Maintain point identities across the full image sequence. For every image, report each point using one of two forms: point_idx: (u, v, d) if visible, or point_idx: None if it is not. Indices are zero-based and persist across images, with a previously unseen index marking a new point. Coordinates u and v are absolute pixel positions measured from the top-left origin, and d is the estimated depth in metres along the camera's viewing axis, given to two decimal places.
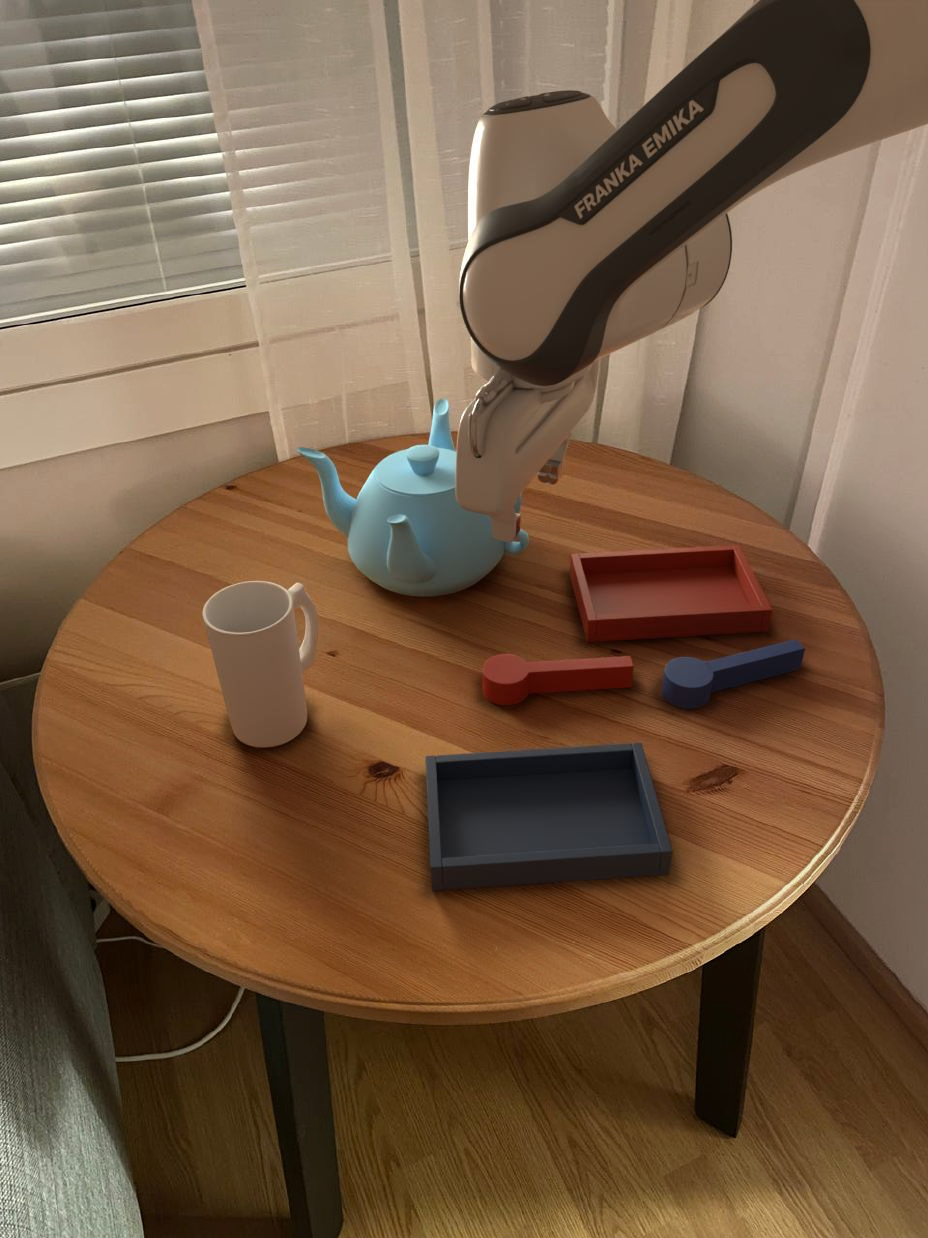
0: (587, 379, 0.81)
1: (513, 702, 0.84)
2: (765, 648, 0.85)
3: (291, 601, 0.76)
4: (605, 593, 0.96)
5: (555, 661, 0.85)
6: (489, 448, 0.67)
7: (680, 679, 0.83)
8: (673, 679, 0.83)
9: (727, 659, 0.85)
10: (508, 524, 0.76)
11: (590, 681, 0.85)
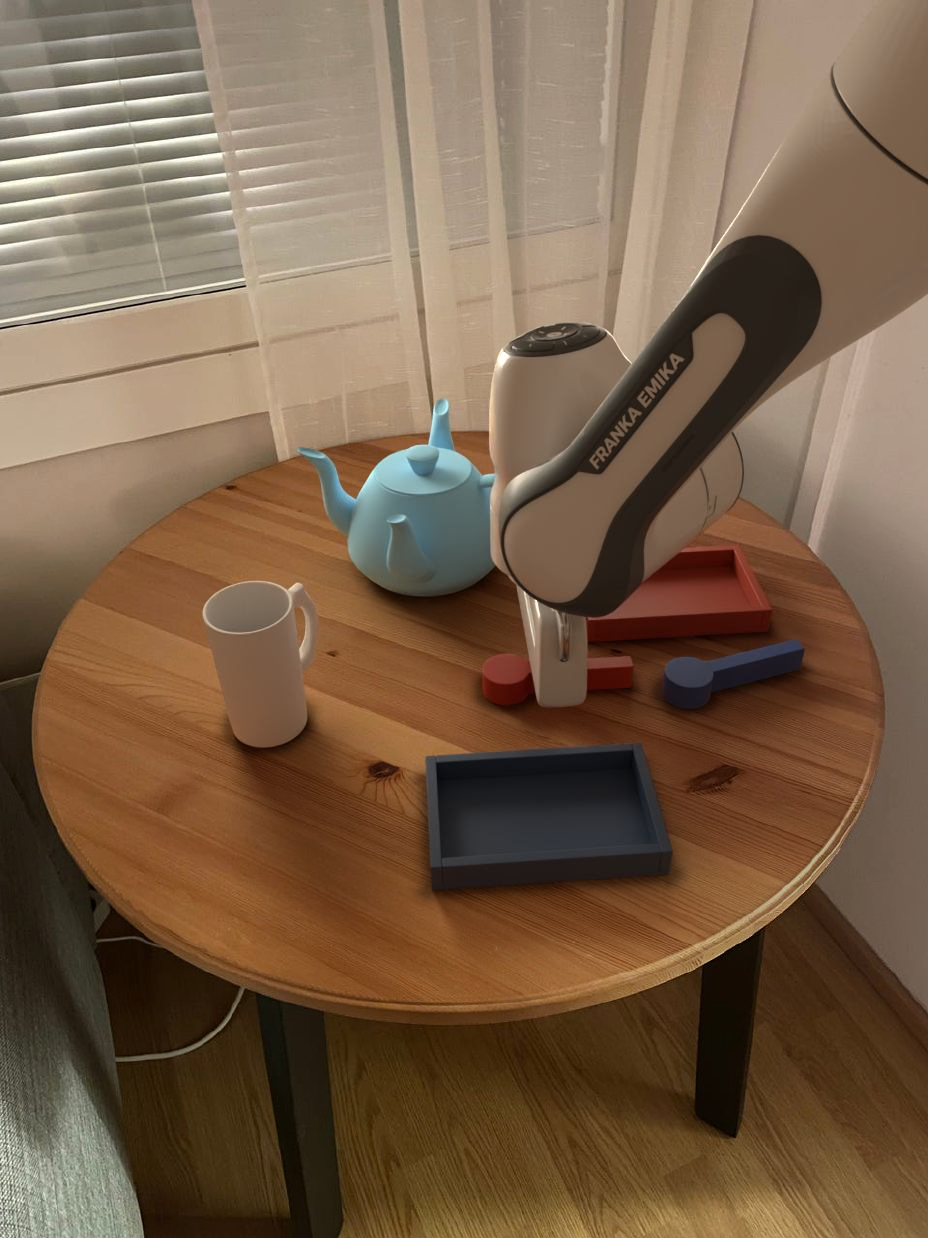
0: None
1: (513, 702, 0.84)
2: (765, 648, 0.85)
3: (291, 601, 0.76)
4: None
5: None
6: (575, 651, 0.71)
7: (680, 679, 0.83)
8: (673, 679, 0.83)
9: (727, 659, 0.85)
10: None
11: (590, 681, 0.85)
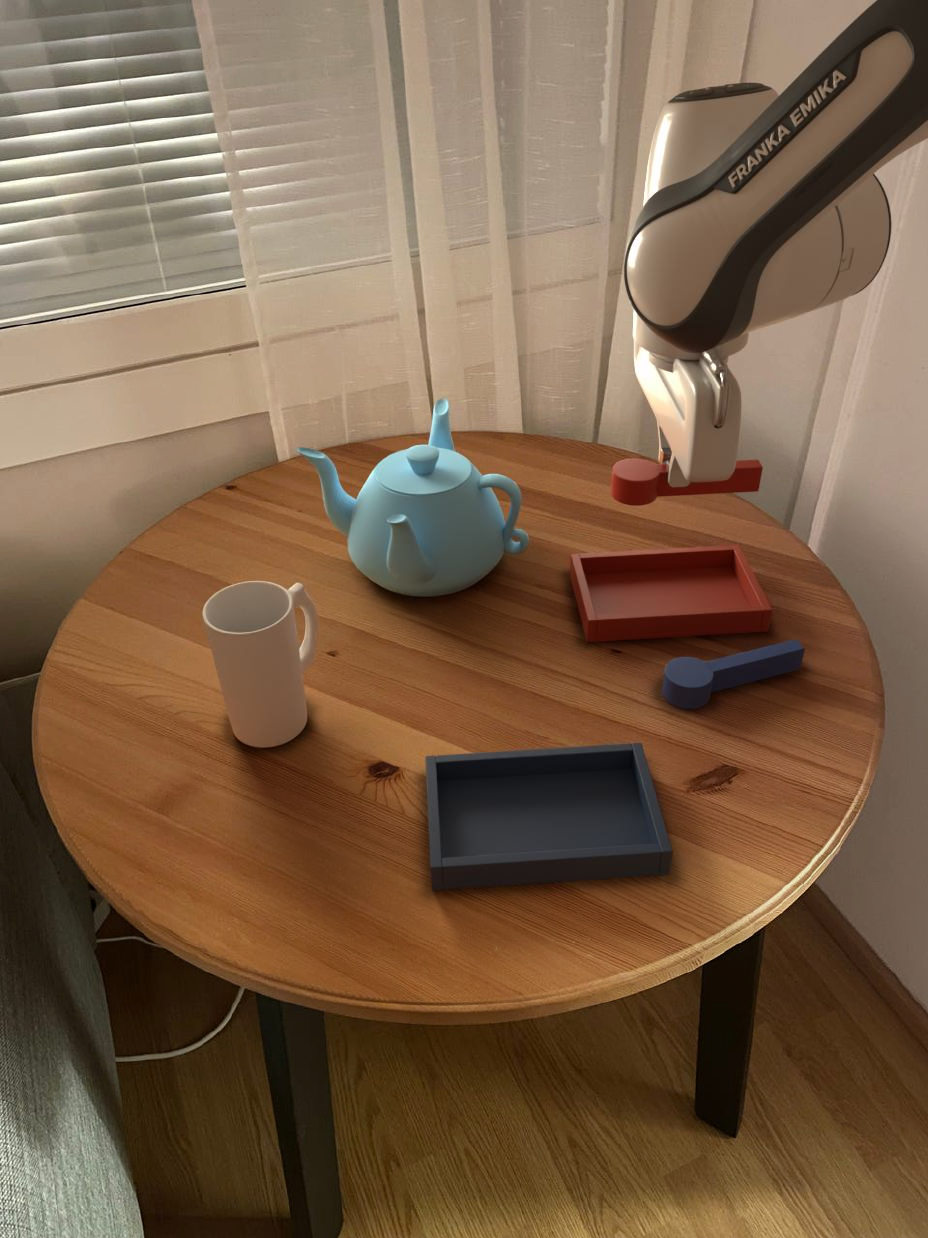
0: None
1: (644, 502, 0.85)
2: (765, 648, 0.85)
3: (291, 601, 0.76)
4: (605, 593, 0.96)
5: None
6: (730, 416, 0.72)
7: (680, 679, 0.83)
8: (673, 679, 0.83)
9: (727, 659, 0.85)
10: None
11: (719, 483, 0.86)
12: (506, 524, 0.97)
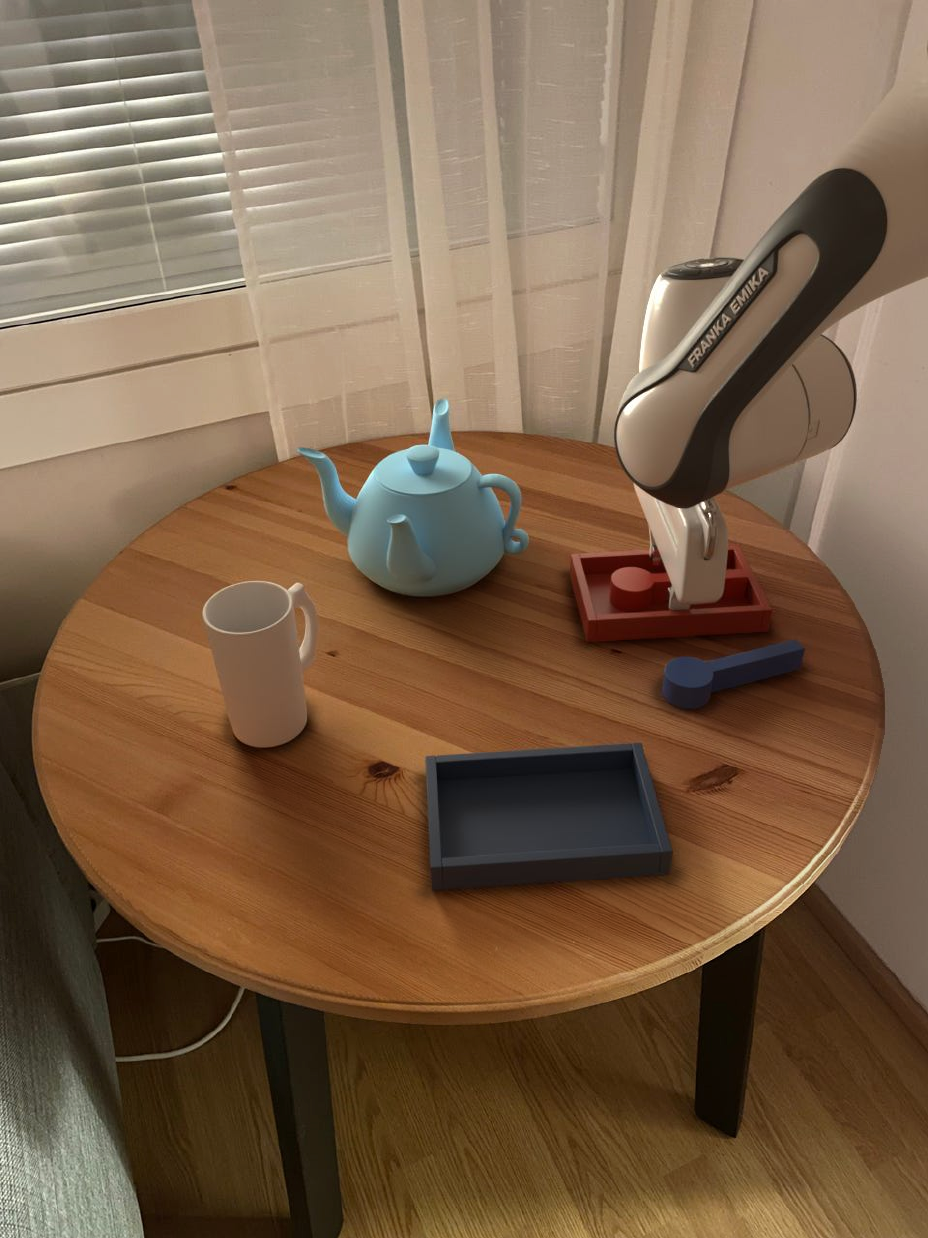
0: None
1: (639, 609, 0.93)
2: (765, 648, 0.85)
3: (291, 601, 0.76)
4: (605, 593, 0.96)
5: None
6: (717, 550, 0.80)
7: (680, 679, 0.83)
8: (673, 679, 0.83)
9: (727, 659, 0.85)
10: None
11: None
12: (506, 524, 0.97)
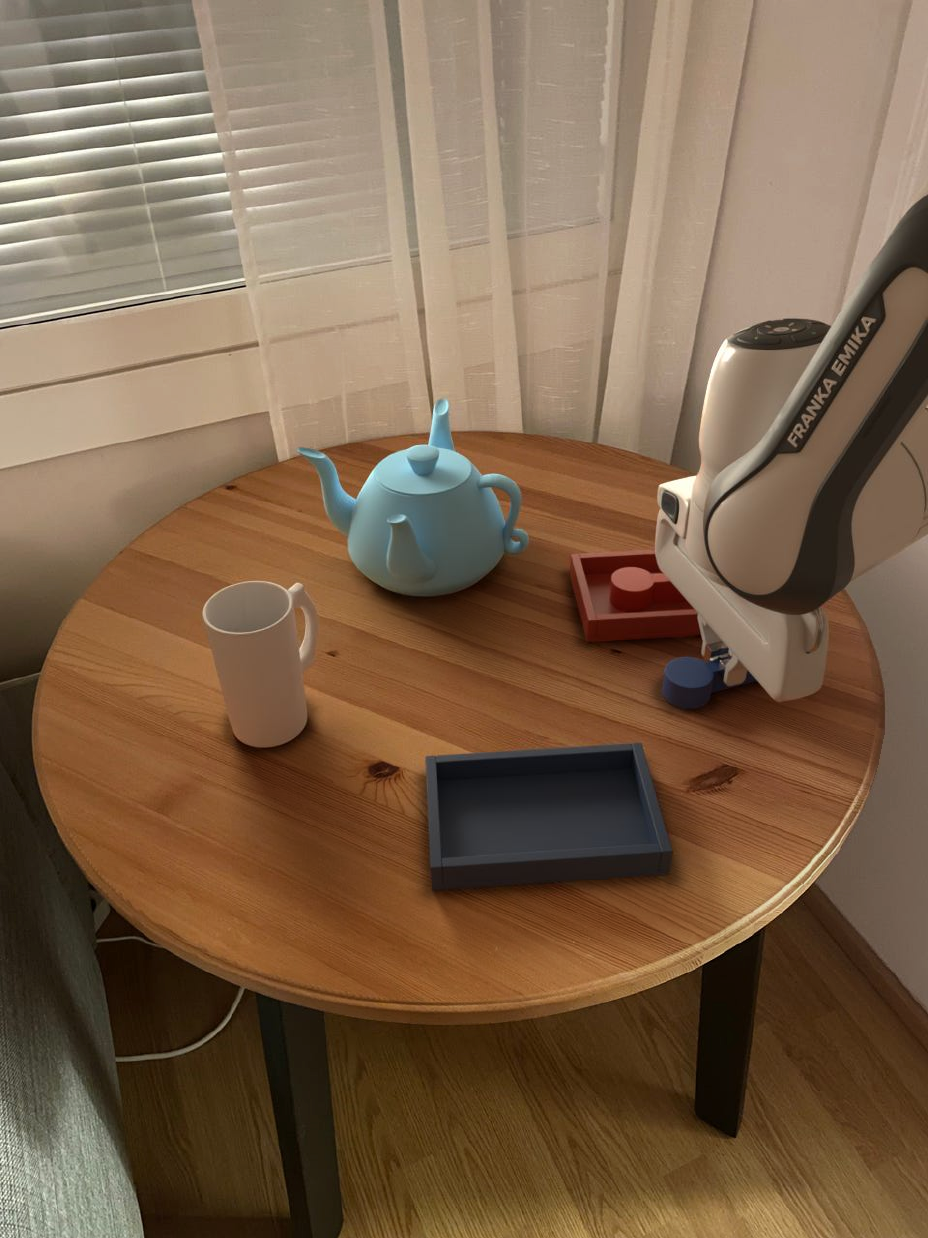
0: None
1: (639, 609, 0.93)
2: None
3: (291, 601, 0.76)
4: (605, 593, 0.96)
5: None
6: None
7: (680, 679, 0.83)
8: (673, 679, 0.83)
9: None
10: (743, 668, 0.82)
11: None
12: (506, 524, 0.97)
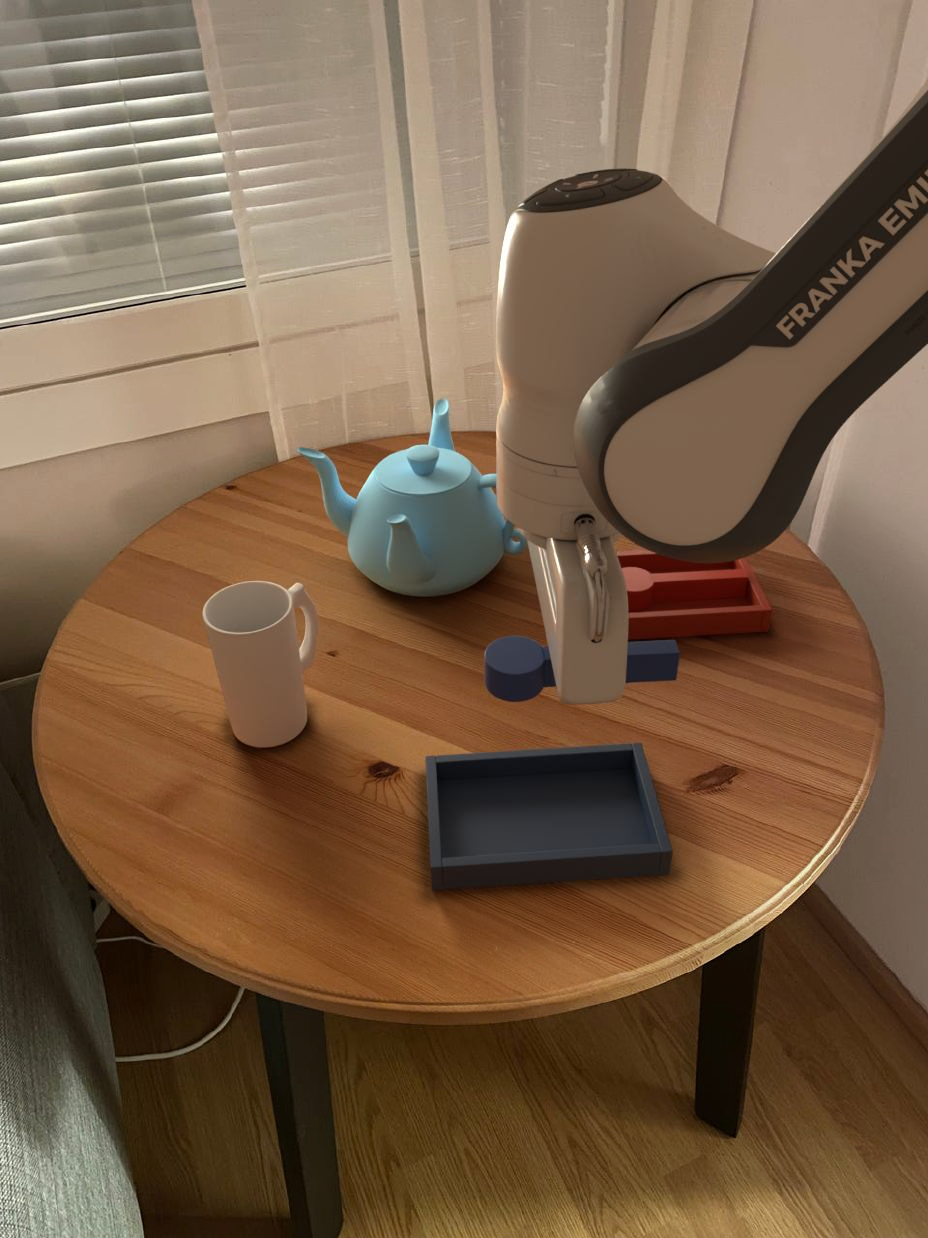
0: None
1: (639, 609, 0.93)
2: (628, 644, 0.66)
3: (291, 601, 0.76)
4: None
5: (676, 573, 0.94)
6: (612, 628, 0.52)
7: (498, 661, 0.65)
8: (489, 660, 0.65)
9: None
10: None
11: (708, 591, 0.94)
12: (506, 524, 0.97)
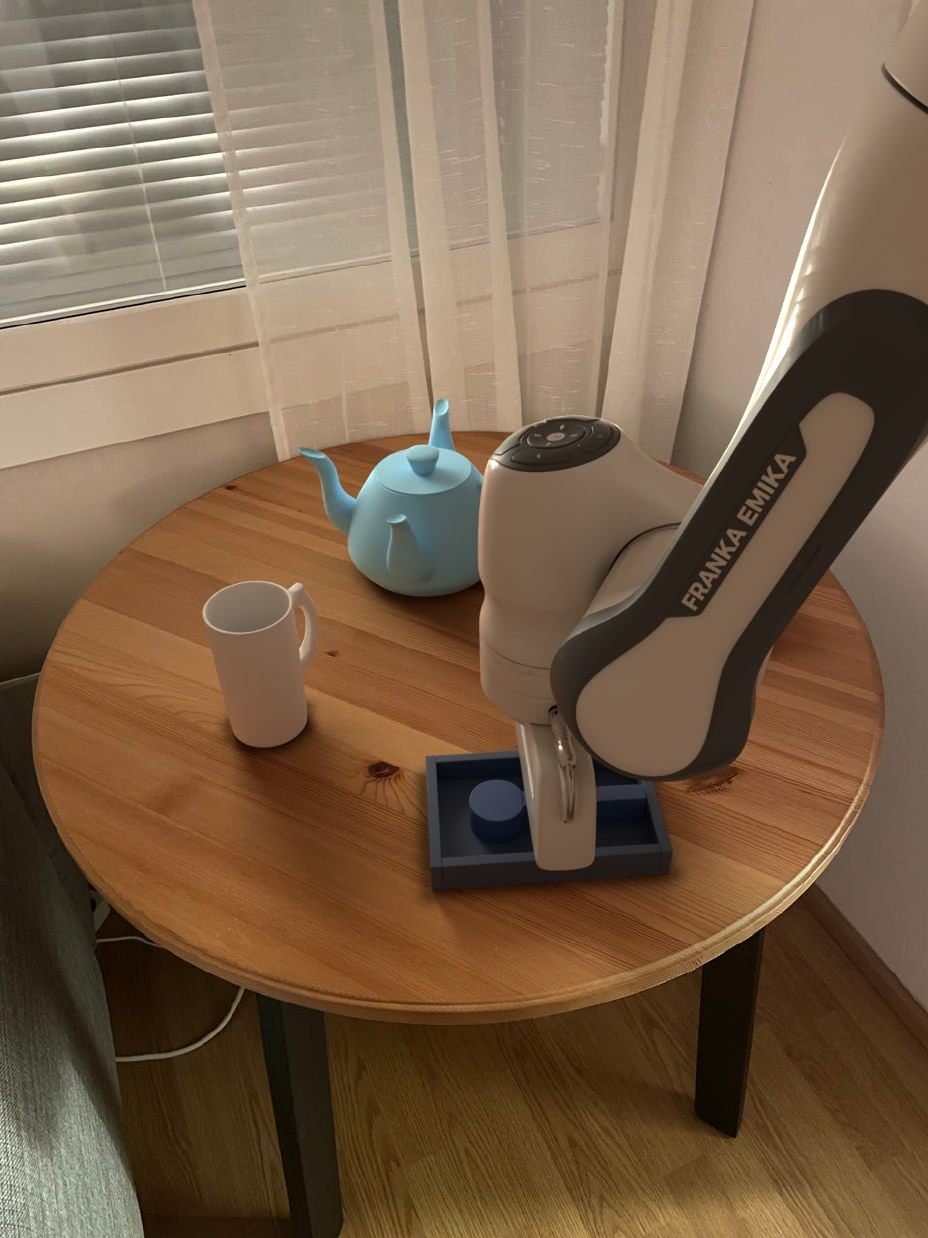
0: None
1: None
2: (599, 788, 0.73)
3: (291, 601, 0.76)
4: None
5: None
6: (582, 811, 0.59)
7: (481, 807, 0.72)
8: (473, 806, 0.72)
9: None
10: None
11: None
12: None
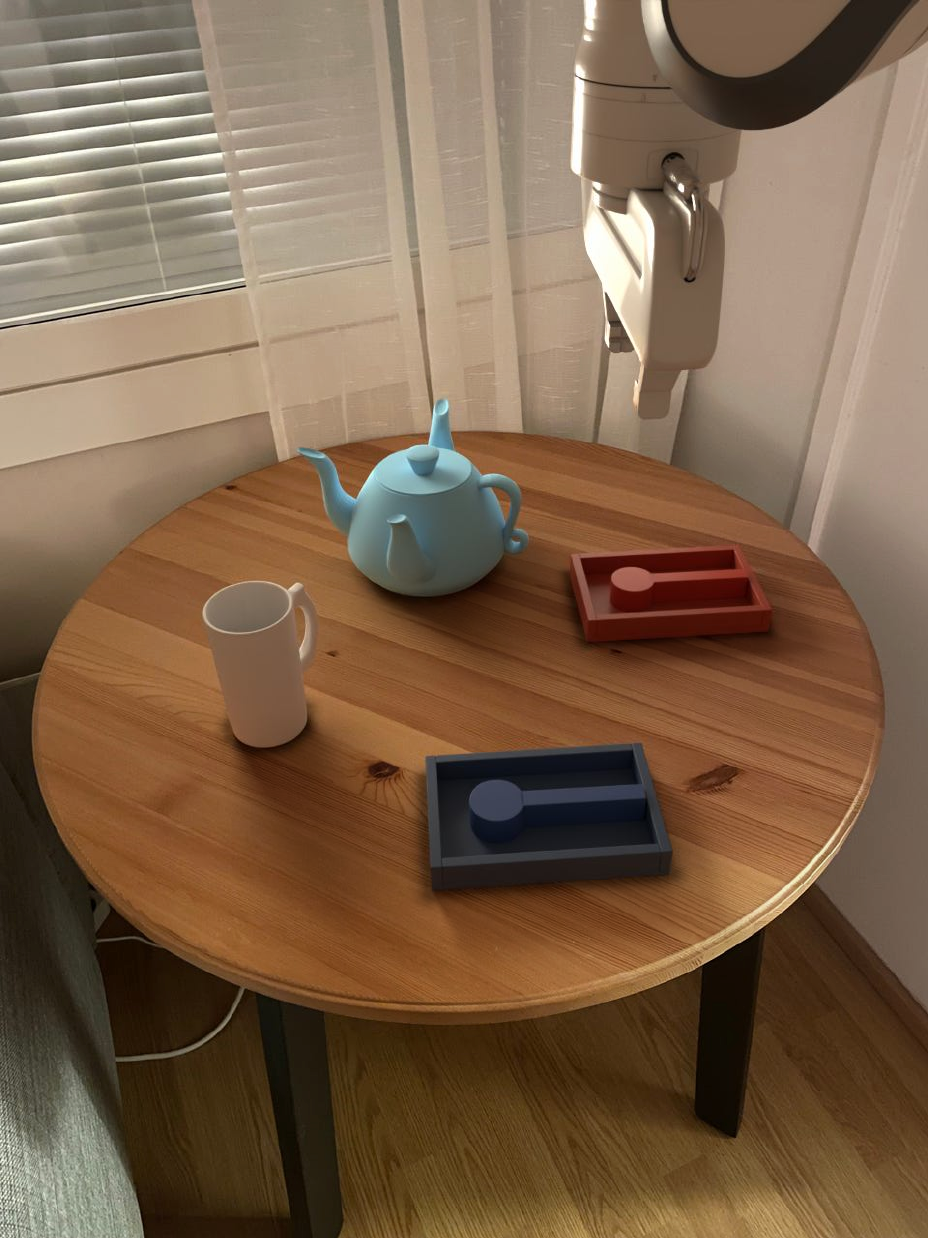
0: None
1: (639, 609, 0.93)
2: (599, 788, 0.73)
3: (291, 601, 0.76)
4: (605, 593, 0.96)
5: (676, 573, 0.94)
6: (707, 263, 0.48)
7: (481, 807, 0.72)
8: (473, 806, 0.72)
9: (548, 793, 0.72)
10: (664, 392, 0.56)
11: (708, 591, 0.94)
12: (506, 524, 0.97)
